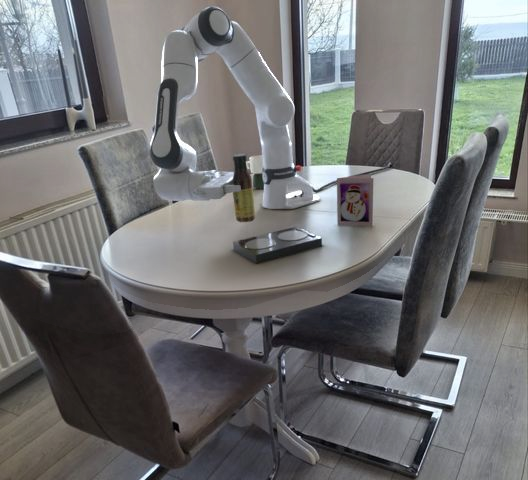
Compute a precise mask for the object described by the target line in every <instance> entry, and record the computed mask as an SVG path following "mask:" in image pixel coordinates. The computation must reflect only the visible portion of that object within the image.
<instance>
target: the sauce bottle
mask: <svg viewBox="0 0 528 480" xmlns="http://www.w3.org/2000/svg"><path fill="white" fill-rule="evenodd" d="M232 161H233V167H234V169H233V170H234V171H233V172H234V175H233V180H232V185H236V184H238V185H239V184H241V186H242V190H241V191H239V192H232V198H233V205H234V214H235V215H234V216H235V220H236V221H237V222H239V223H247V222H253V221H254V220H255V218H256V210H255V199H254V187H253V177H252V176H251V172H249V171H248V169H247V165H246V162H247V154H246V153H236V154H233V155H232Z"/></svg>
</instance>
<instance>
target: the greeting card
mask: <svg viewBox="0 0 528 480" xmlns="http://www.w3.org/2000/svg"><path fill="white" fill-rule="evenodd" d="M349 176H350V177H348V176H344V177H337V178H336V180H337V183H336V204H337V205H336V213H337V214H336V215H337V217H336V219H337V220H336V221H337V226H340V227H341V226H342V227H343V226H344V227H373V219H374V217H373V216H374V177H372V173H370V174H364V175H357V176H352V175H349Z"/></svg>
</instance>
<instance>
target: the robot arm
mask: <svg viewBox="0 0 528 480" xmlns="http://www.w3.org/2000/svg"><path fill="white" fill-rule="evenodd" d="M215 53H216V54H218V55H219V56H220V57H221V58H222V60H223V62H224V64H225V65H226V66H227V69H228V70H229V72H230V73H231V75H232V76H233V78H234V79H235V81H236V83H237V84H238V85H239V87H240V89H241V90H242V91H243V92H244V94H245V95H246V96H247V97H248V99H249V100H250V101H251V103H252V105H253V106H254V110H255V118H256V123H257V129H258V135H259V141H260V146H261V155H262V159H263V168H262V174H263V183H264V188H263V197H262V202H261V203H262V204H261V206H262V208H265V209H269V210H270V209H271V210H294V209H298V208H300V207H304V206H307V205H310V204H313V203H317V202H320V197H319V195H317V194H314V193H319V192H321V191H322V190H323V189H325V188H328V187H329V186H331V185H333V184H337V179H336V180H333V181H331V182H328V183H327V184H324V185H322V186H321V187H319V188H317V189H315V188H314V187H313V186H312V183H310V182H309V181H307V180H306V179H305V178H304V177H302V176H300V175H299V174H298V172H302V171H303V167H302V165H295V164H294V163H293V144H292V139H291V137H290V130H289V126H288V125H289V124H290V123H291V122H292V120H293V119H294V117H295V113H296V112H295V111H296V109H295V104H294V102H293V100H292V99H291V98H290V96H289V95H288V93H287V92H286V90H285V88H284V87H283V86H282V85H281V83H280V82H279V81H278V79H277V78H276V76H275V75H274V74H273V72H272V71H271V70H270V68H269V67H268V65H267V63H266V61H264V59H263V57H262V55H261V54H260V52H259V50H258V49H257V47H256V45H255V44H254V43H253V41H252V40H251V38H250V36H249V35H248V34H247V33H246V31H245V30H244V29H243V27H241V25H240V24H239V23H237V22H236V21H234V20H231V18H230V17H229V16H228V14H227V13H226V12H225V11H224V10H223V9H222V8H220V7H218V6H214V5H212V6H207V7H205V8H203V9H202V10H201V11H200V12H199V13H197V14H195V15H194V16H193V17H192V18H190V20H189V22H188V23H187V24H186V25H185V26H184V27H182V29H180V30H179V29H177V30H176V29H175V30H171V31H170V32H168V33H167V34H166V36H165V37H164V42H163V47H162V54H161V78H160V79H161V80H160V84H159V87H158V90H157V100H156V110H155V121H154V130H153V133H152V137H151V139H150V143H149V149H148V150H149V151H148V152H149V157H150V160H151V162H152V163H153V164H154V165H155V166H157V167H158V168H160V169H159V171H158V172H157V173H156V174H155V175H154V177H153V180H152V181H153V189H154V191H155V193H156V195H157V196H158V197H159V199H162V200H163V201H172V202H186V201H187V200H188V201H189V200H190V201H194V202H195V201H197V202H199V201H200V202H203V201H210V200H221V199H222V198H223V197H225V196H226V195H228V194H230V193H231V194H232V193H233V192H239V191H241V190H242V186H241V184H239V185H238V184H236V185H232V180H233V175H234V171H217V170H216V169H209V170H199V171H198V170H197V167H198V154H197V152H196V150H195V149H194V148H193V147H192V146H191V145H189V144H188V143H186V142H185V141H183V140H181V139H180V137H179V134H178V132H177V128H178V127H177V125H178V115H179V114H178V112H179V106H180V104H181V103H183V102H187V101H188V100H190V99H191V98H193V97H194V96H195V95H196V93H197V88H198V82H199V81H198V79H199V78H198V74H199V71H198V69H199V68H198V67H199V66H198V62H202V61H203V60H205V59H206V58H208V57H210V56H211V55H213V54H215ZM392 166H393V164H392V162H389V163H388V165H387V166H384V167H381V168H377V169H373V170H368V171H365V172H360V173H357V174H352V175H349V176H347V177H350V176H357V175H364V174H373V173H377V172H381V171H385V170H387V169H389V168H390V167H392Z"/></svg>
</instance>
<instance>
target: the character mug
mask: <svg viewBox="0 0 528 480" xmlns="http://www.w3.org/2000/svg"><path fill="white" fill-rule="evenodd" d="M246 165H247V170H250V174H253V176H252V186H253V189H254V188H255V189H264V183H263V174H262V168H263V159H262V154H261V155H252V156H250V157H249V160H248V161H247V160H246Z"/></svg>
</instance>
